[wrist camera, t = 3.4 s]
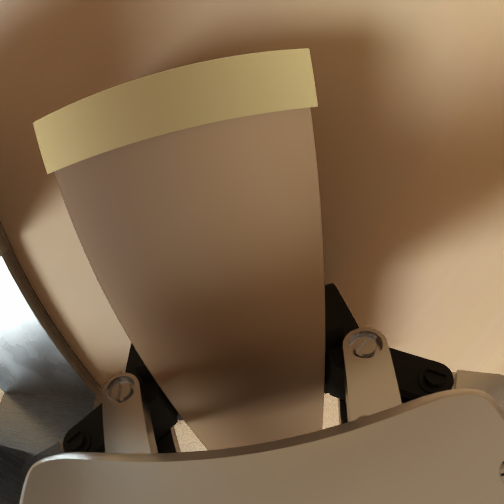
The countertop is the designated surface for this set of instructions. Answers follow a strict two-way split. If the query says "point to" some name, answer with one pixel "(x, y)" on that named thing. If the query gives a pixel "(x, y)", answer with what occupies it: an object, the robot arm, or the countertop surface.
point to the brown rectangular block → (207, 235)
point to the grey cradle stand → (34, 378)
